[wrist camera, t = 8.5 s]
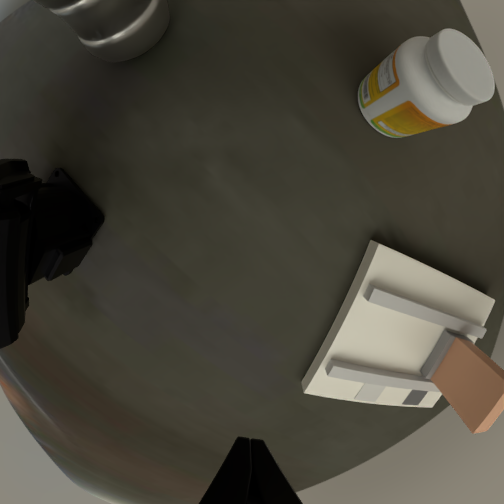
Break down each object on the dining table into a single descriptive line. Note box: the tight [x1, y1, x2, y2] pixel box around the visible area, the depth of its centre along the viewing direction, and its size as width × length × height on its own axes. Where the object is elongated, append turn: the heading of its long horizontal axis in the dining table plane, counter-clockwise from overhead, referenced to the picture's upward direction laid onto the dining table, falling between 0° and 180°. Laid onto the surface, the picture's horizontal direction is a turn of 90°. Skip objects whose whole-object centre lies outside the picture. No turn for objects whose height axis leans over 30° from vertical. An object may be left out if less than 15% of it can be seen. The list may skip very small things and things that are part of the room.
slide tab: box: [420, 330, 504, 434], centre depth 15 cm, size 4×4×9 cm
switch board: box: [301, 240, 495, 407], centre depth 20 cm, size 16×13×2 cm
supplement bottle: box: [358, 29, 495, 138], centre depth 12 cm, size 5×5×10 cm
